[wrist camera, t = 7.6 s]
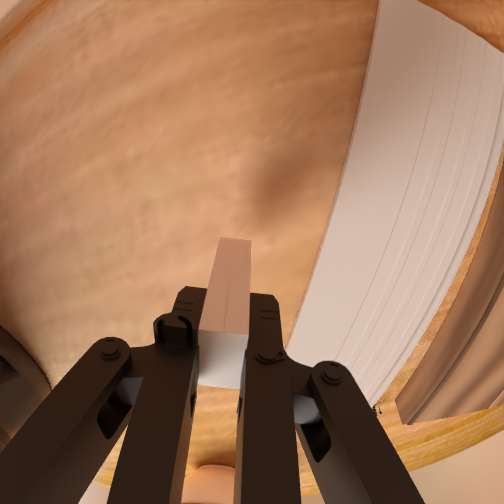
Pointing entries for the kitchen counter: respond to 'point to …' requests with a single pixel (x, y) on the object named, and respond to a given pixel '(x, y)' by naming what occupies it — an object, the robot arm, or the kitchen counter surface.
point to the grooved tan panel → (466, 339)
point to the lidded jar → (209, 485)
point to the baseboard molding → (403, 194)
